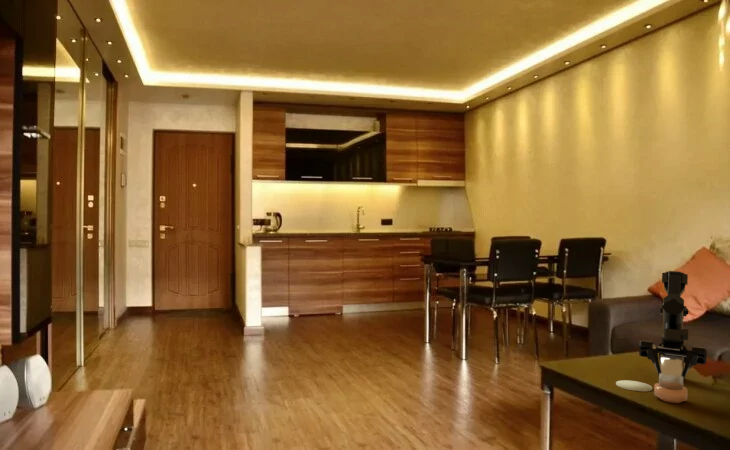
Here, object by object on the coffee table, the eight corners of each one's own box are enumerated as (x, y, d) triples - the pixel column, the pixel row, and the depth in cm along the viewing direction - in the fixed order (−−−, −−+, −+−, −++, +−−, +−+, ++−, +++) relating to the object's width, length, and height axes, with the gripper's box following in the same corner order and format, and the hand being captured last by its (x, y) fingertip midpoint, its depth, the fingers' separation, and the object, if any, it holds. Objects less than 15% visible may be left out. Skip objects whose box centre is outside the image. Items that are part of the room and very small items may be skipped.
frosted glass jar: (673, 383, 176) (674, 355, 175) (688, 390, 169) (688, 360, 169) (654, 383, 175) (655, 355, 175) (668, 390, 168) (669, 360, 168)
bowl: (673, 395, 177) (674, 382, 177) (694, 404, 168) (694, 391, 168) (647, 395, 176) (648, 382, 176) (666, 404, 167) (667, 391, 167)
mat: (638, 381, 192) (638, 380, 192) (659, 391, 181) (659, 389, 181) (609, 381, 190) (609, 380, 190) (628, 391, 179) (628, 390, 179)
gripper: (640, 315, 180) (637, 355, 170) (707, 322, 171) (708, 365, 161) (640, 335, 187) (637, 375, 177) (705, 342, 177) (706, 385, 168)
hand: (671, 375), depth 171 cm, fingers closed on frosted glass jar, 7 cm apart
